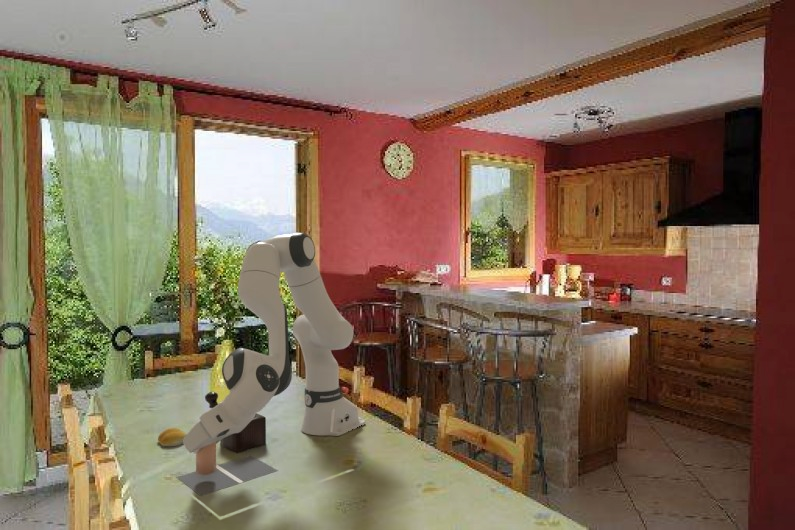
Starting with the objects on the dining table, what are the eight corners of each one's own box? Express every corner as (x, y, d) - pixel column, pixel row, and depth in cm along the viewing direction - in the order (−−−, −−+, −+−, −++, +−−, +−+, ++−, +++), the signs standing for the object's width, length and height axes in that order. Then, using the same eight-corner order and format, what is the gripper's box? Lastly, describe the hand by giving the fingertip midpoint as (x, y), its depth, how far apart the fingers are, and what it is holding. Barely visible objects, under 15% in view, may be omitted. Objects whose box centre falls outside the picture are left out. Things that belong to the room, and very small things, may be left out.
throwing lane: (250, 457, 160) (250, 455, 160) (278, 472, 150) (278, 470, 150) (176, 479, 145) (176, 476, 145) (200, 498, 134) (200, 495, 134)
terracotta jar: (211, 465, 147) (211, 421, 146) (219, 470, 143) (219, 425, 142) (192, 470, 143) (192, 425, 143) (200, 476, 139) (200, 430, 139)
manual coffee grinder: (247, 437, 177) (247, 382, 176) (267, 446, 169) (266, 389, 168) (202, 450, 165) (202, 392, 165) (221, 460, 158) (220, 399, 157)
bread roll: (164, 449, 166) (164, 436, 166) (155, 441, 173) (155, 429, 173) (191, 443, 172) (191, 430, 172) (181, 435, 179) (181, 423, 178)
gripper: (252, 395, 149) (225, 425, 153) (196, 416, 130) (167, 449, 135) (266, 413, 147) (237, 443, 152) (211, 437, 129) (180, 470, 133)
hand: (204, 446), depth 143 cm, fingers closed on terracotta jar, 5 cm apart
